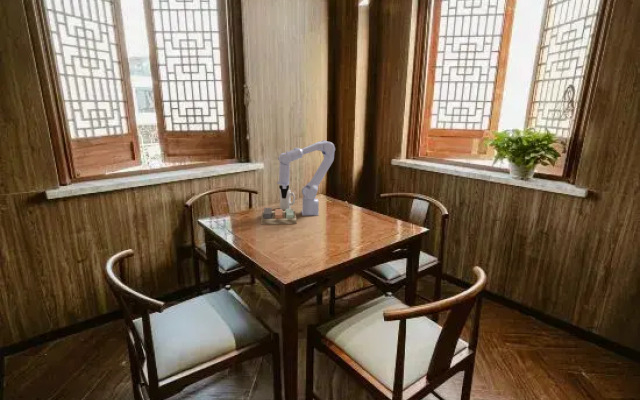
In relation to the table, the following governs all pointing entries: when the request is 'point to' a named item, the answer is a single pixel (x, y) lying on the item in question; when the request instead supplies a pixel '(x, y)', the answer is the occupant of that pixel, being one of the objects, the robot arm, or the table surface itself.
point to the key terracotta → (278, 214)
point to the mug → (286, 200)
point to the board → (278, 221)
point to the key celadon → (289, 214)
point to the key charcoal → (267, 213)
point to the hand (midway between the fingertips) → (283, 198)
